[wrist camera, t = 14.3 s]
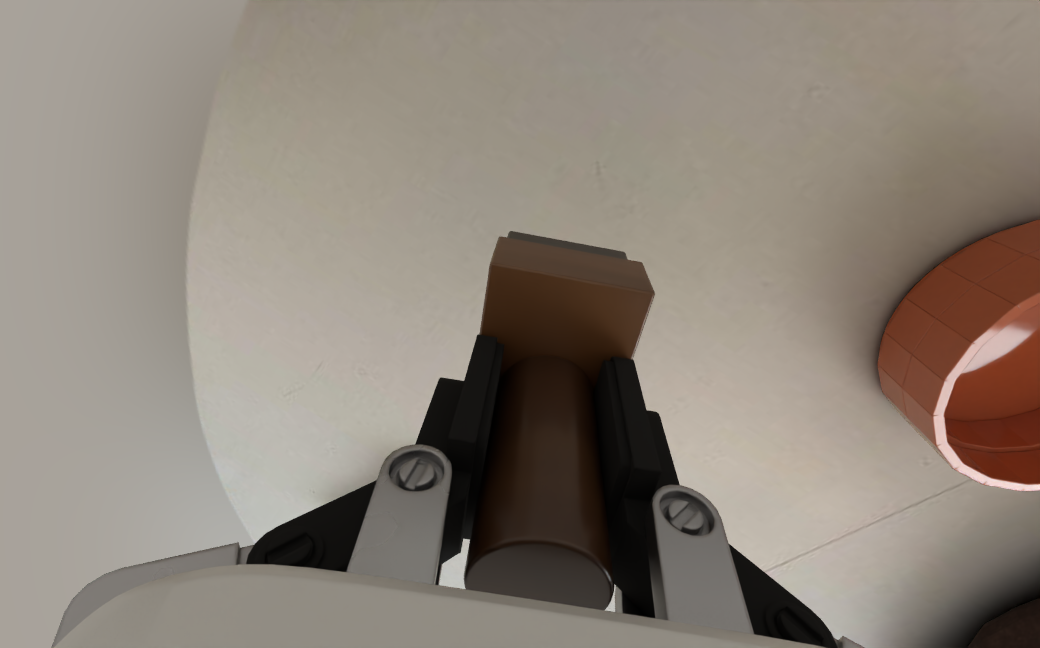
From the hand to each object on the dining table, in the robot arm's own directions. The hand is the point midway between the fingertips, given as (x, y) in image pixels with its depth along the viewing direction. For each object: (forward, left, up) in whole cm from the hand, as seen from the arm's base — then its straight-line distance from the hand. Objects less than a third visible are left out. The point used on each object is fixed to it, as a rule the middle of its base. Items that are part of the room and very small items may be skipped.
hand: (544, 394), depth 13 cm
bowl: (+2, +28, -16) cm, 32 cm away
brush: (0, 0, -4) cm, 4 cm away
